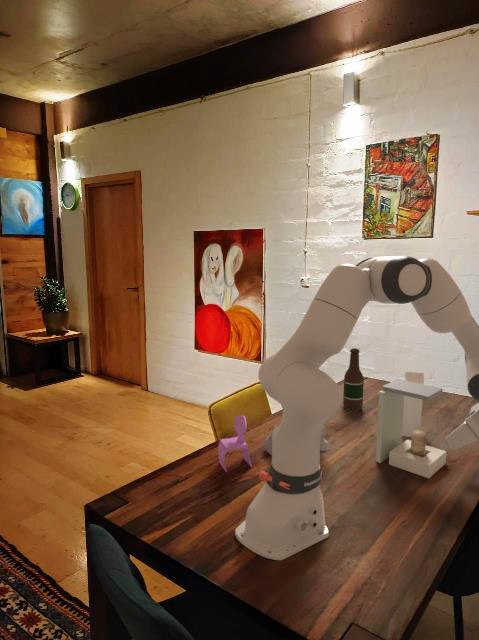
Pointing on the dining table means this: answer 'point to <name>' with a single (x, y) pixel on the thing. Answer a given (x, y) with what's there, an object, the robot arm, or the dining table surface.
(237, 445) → the toy chair
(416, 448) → the peg
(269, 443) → the grey conch shell
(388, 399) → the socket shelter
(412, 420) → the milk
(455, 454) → the dining table surface
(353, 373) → the beer bottle
